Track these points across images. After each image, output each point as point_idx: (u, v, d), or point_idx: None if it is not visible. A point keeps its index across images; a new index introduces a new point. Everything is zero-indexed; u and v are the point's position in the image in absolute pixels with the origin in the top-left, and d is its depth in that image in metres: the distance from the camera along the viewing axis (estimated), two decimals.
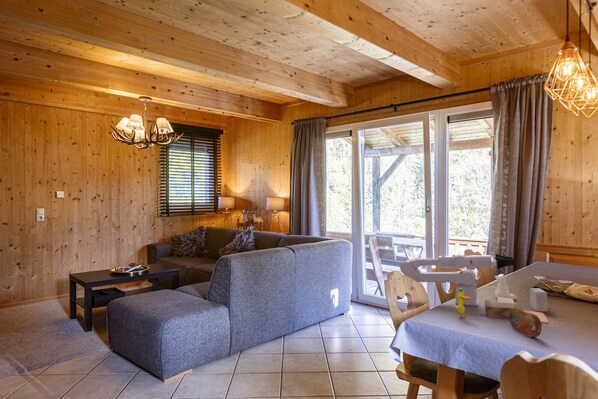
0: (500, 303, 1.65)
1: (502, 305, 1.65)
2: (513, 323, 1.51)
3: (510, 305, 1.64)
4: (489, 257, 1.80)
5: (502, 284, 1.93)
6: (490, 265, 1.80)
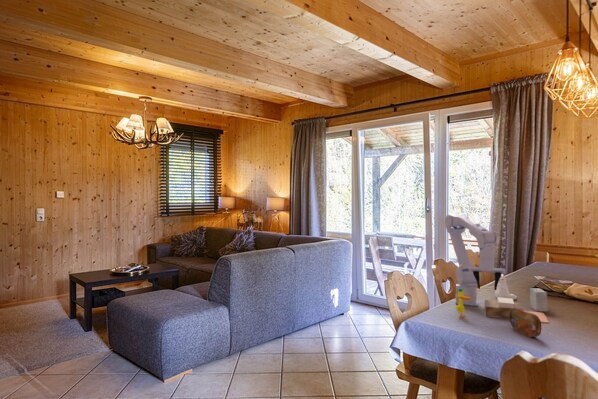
0: (500, 303, 1.65)
1: (502, 305, 1.65)
2: (513, 323, 1.51)
3: (510, 305, 1.64)
4: (482, 267, 1.70)
5: (502, 284, 1.93)
6: None
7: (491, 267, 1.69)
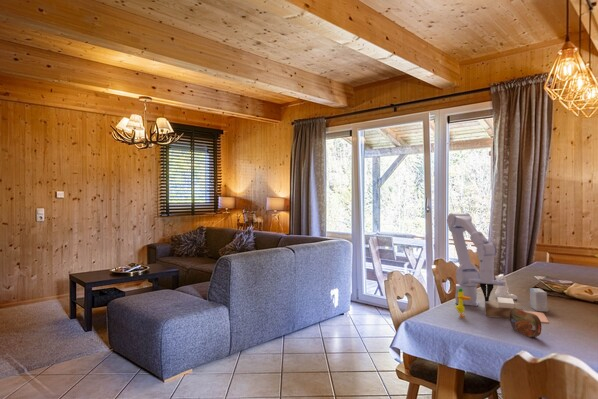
0: (500, 303, 1.65)
1: (502, 305, 1.65)
2: (513, 323, 1.51)
3: (510, 305, 1.64)
4: (481, 279, 1.70)
5: None
6: None
7: (491, 280, 1.69)
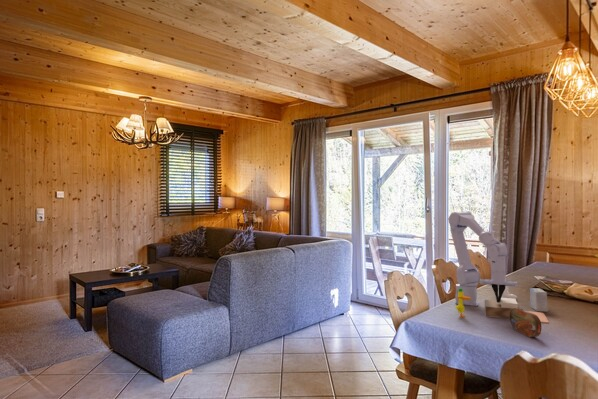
0: (503, 303, 1.65)
1: (505, 305, 1.65)
2: (513, 323, 1.51)
3: (513, 305, 1.63)
4: (493, 280, 1.69)
5: None
6: None
7: (503, 281, 1.67)
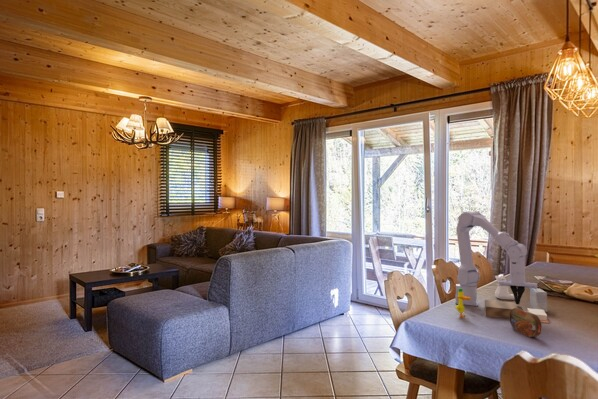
0: (544, 319, 1.59)
1: (542, 317, 1.59)
2: (513, 323, 1.51)
3: None
4: (512, 281, 1.66)
5: None
6: None
7: (523, 282, 1.64)
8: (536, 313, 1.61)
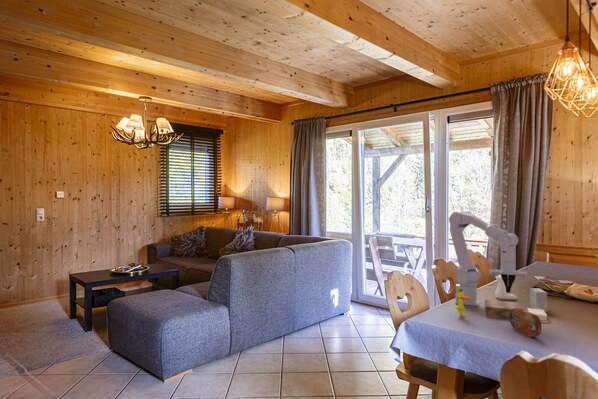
0: (544, 319, 1.59)
1: (542, 317, 1.59)
2: (513, 323, 1.51)
3: None
4: (503, 270, 1.67)
5: (502, 284, 1.93)
6: None
7: (513, 271, 1.65)
8: (536, 313, 1.61)
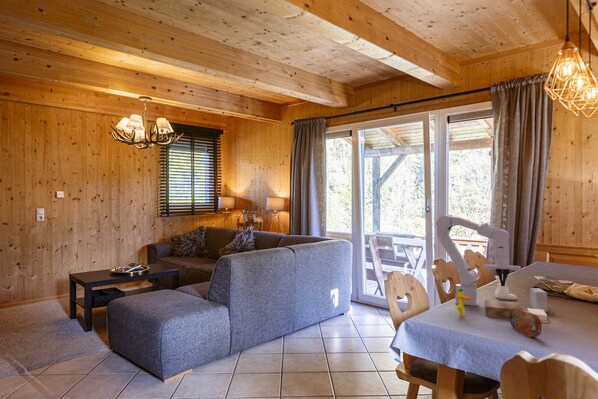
0: (544, 319, 1.59)
1: (542, 317, 1.59)
2: (513, 323, 1.51)
3: None
4: (497, 264, 1.76)
5: None
6: None
7: (507, 265, 1.74)
8: (536, 313, 1.61)
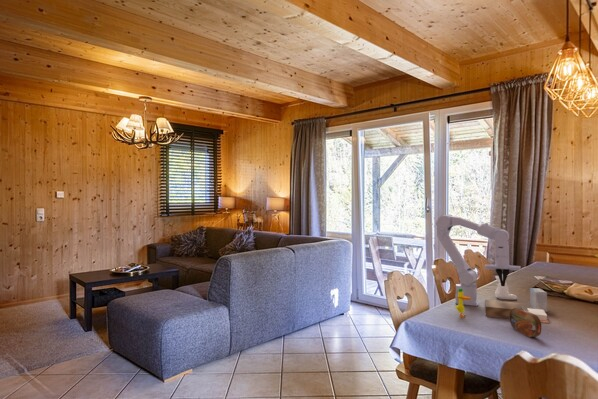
0: (544, 319, 1.59)
1: (542, 317, 1.59)
2: (513, 323, 1.51)
3: None
4: (497, 264, 1.76)
5: None
6: None
7: (507, 265, 1.74)
8: (536, 313, 1.61)
